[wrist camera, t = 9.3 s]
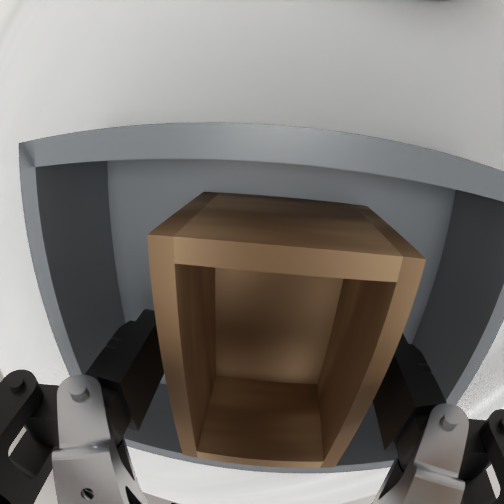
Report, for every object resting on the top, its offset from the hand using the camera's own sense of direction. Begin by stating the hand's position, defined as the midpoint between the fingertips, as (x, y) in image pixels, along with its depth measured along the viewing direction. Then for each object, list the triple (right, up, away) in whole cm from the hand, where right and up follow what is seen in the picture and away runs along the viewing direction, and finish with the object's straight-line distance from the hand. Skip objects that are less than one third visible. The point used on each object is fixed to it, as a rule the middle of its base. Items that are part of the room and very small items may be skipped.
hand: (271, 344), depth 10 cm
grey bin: (0, +1, +3) cm, 3 cm away
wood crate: (0, +1, +2) cm, 3 cm away
